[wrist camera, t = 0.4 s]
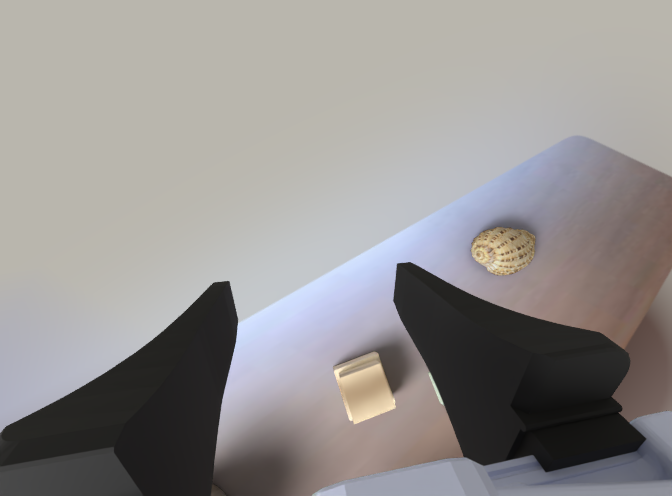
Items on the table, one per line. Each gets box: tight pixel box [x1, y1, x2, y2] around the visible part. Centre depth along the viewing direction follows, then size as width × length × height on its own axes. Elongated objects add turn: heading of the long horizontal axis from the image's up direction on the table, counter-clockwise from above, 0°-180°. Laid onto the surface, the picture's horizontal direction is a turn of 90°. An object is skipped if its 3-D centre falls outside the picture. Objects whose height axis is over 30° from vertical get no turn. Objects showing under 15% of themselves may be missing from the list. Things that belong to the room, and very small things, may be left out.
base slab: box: [333, 352, 395, 421], centre depth 36 cm, size 6×6×3 cm
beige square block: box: [339, 360, 396, 424], centre depth 33 cm, size 5×5×3 cm
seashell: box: [471, 227, 535, 275], centre depth 41 cm, size 8×6×10 cm
